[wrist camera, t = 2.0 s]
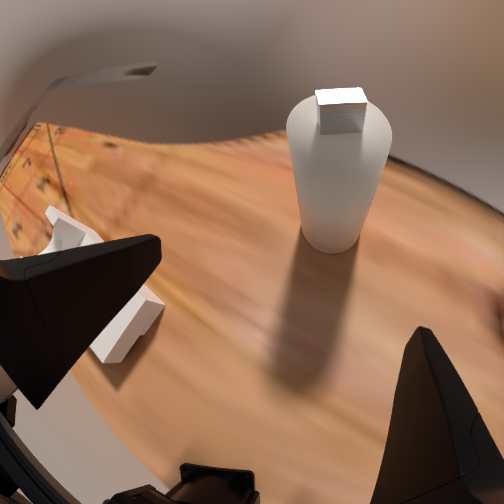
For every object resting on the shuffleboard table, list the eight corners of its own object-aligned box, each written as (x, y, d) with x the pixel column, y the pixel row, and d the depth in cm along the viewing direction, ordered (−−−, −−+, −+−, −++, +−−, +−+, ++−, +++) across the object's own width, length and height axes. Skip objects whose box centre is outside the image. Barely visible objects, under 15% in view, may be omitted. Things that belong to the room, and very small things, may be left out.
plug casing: (304, 256, 23) (287, 146, 10) (298, 201, 24) (275, 68, 11) (365, 250, 22) (417, 138, 9) (355, 195, 23) (377, 62, 10)
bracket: (65, 280, 28) (16, 263, 21) (96, 232, 29) (50, 204, 22) (126, 362, 23) (69, 363, 16) (167, 305, 24) (114, 290, 17)
